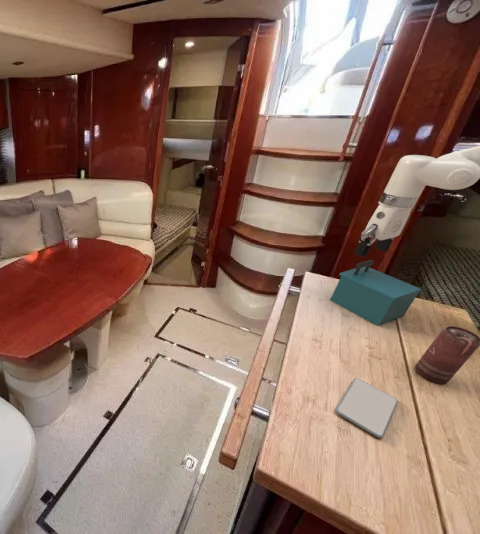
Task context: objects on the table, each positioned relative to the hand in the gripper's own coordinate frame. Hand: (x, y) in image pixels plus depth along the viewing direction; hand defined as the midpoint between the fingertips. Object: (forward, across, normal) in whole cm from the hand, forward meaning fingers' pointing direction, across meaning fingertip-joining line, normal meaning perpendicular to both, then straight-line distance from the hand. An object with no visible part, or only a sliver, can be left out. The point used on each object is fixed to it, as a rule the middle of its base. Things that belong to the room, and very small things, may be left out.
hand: (370, 252), depth 97 cm
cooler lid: (+8, 0, -5) cm, 10 cm away
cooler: (+18, 0, -6) cm, 19 cm away
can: (+18, -15, -30) cm, 38 cm away
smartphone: (+18, -40, -30) cm, 53 cm away
